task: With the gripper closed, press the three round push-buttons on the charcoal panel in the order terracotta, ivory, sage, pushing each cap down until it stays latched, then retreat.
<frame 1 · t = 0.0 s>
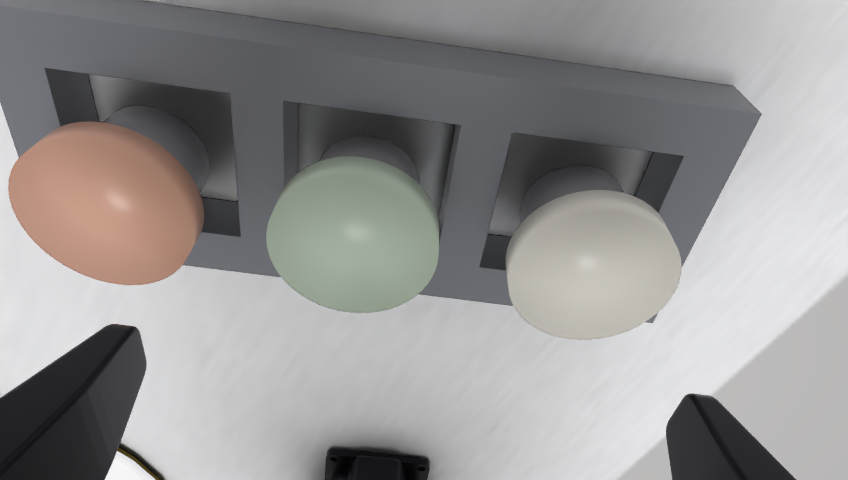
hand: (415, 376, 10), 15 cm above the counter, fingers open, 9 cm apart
sage button: (360, 214, 20), point 4 cm above the counter, slide at 0.0 cm
panel: (373, 157, 24), on the counter
ivory button: (581, 242, 21), point 4 cm above the counter, slide at 0.0 cm
terracotta button: (131, 184, 20), point 4 cm above the counter, slide at 0.0 cm
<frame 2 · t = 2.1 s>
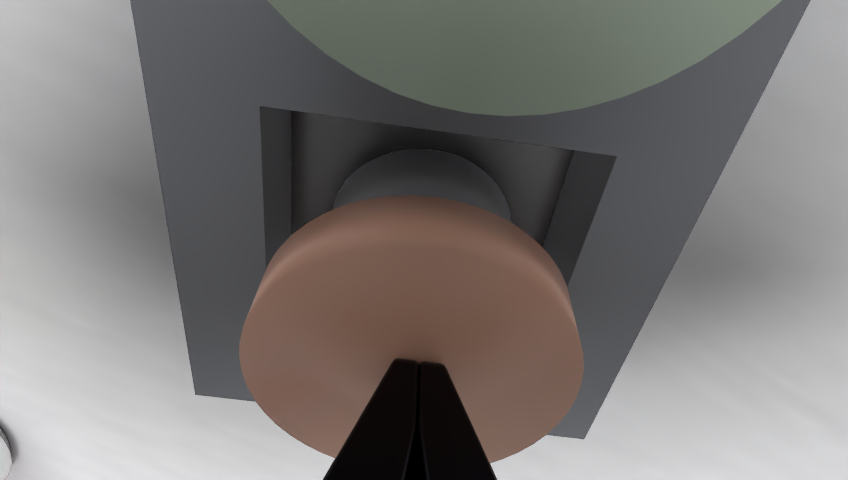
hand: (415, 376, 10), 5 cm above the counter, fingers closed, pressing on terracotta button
terracotta button: (416, 292, 11), point 3 cm above the counter, slide at 1.0 cm, touching gripper
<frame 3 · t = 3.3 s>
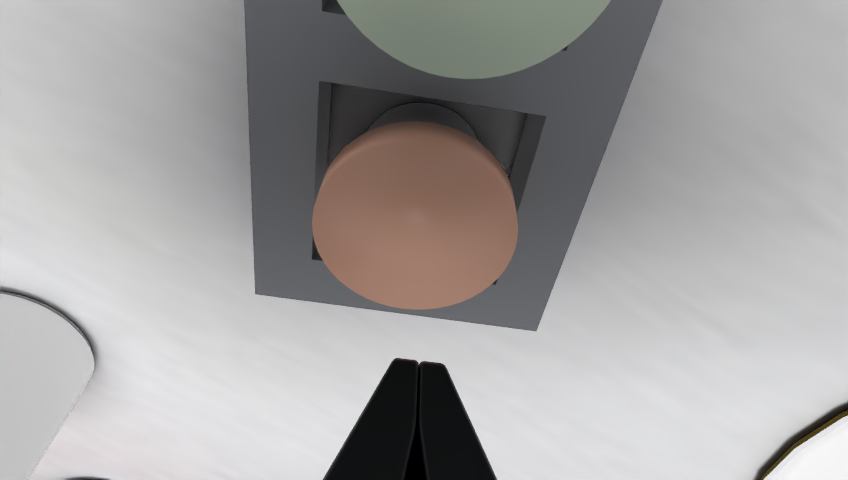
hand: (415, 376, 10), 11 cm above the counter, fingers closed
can: (26, 336, 26), on the counter
terracotta button: (417, 193, 17), point 2 cm above the counter, slide at 1.8 cm
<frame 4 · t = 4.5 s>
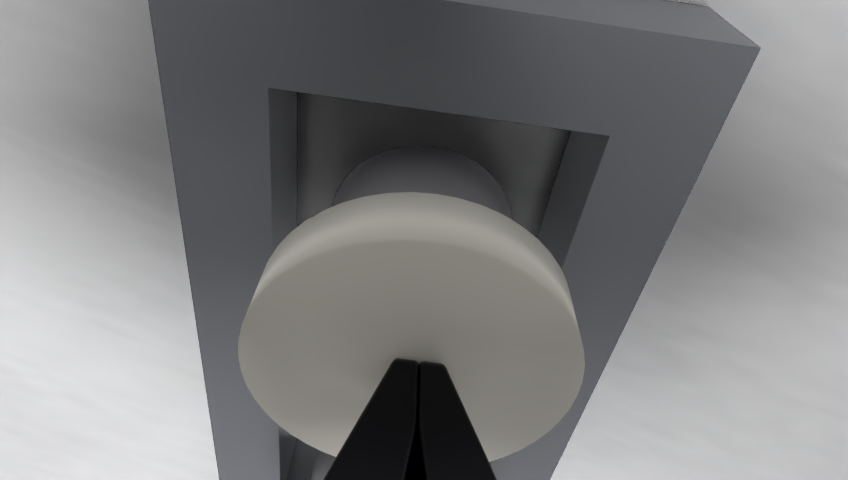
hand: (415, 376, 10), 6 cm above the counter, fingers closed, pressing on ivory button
panel: (391, 392, 19), on the counter
ivory button: (416, 290, 11), point 4 cm above the counter, slide at 0.4 cm, touching gripper
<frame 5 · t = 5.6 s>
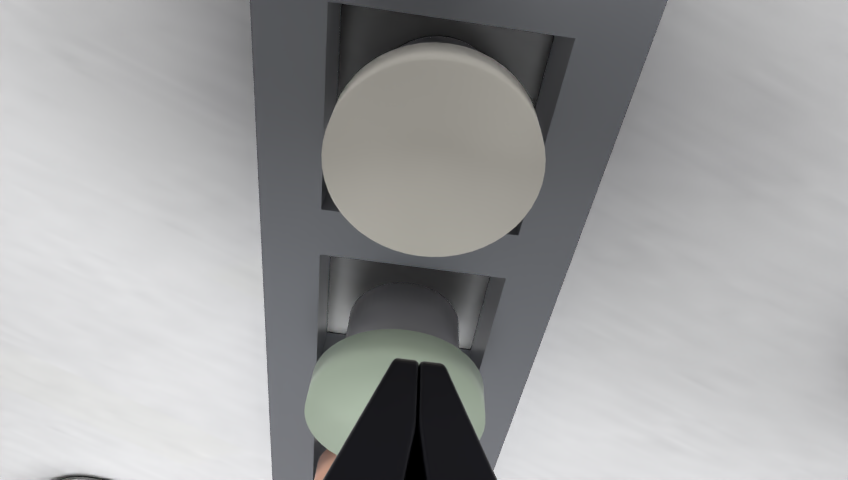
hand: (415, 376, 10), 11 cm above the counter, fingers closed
sage button: (399, 368, 20), point 4 cm above the counter, slide at 0.0 cm
panel: (407, 287, 23), on the counter
ivory button: (434, 132, 16), point 2 cm above the counter, slide at 1.8 cm
terracotta button: (383, 455, 26), point 2 cm above the counter, slide at 1.8 cm
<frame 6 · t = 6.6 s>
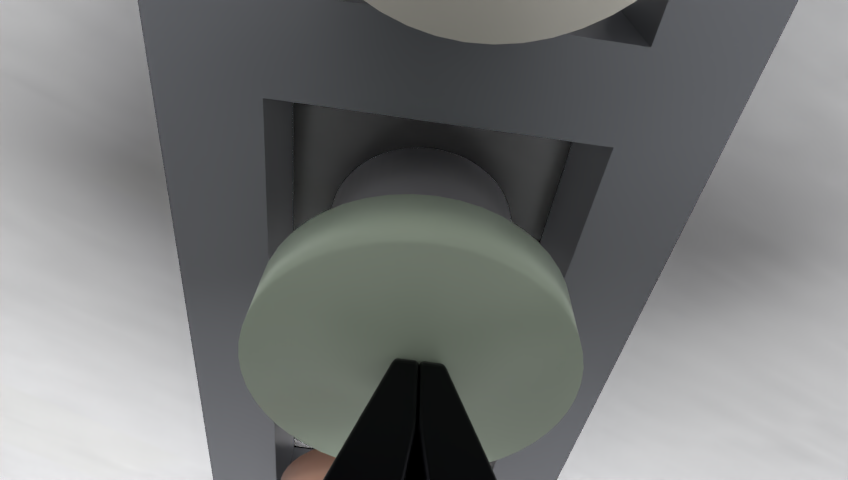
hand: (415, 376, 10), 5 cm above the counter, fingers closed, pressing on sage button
sage button: (415, 291, 11), point 3 cm above the counter, slide at 0.7 cm, touching gripper
panel: (422, 196, 14), on the counter
terracotta button: (383, 469, 17), point 2 cm above the counter, slide at 1.8 cm
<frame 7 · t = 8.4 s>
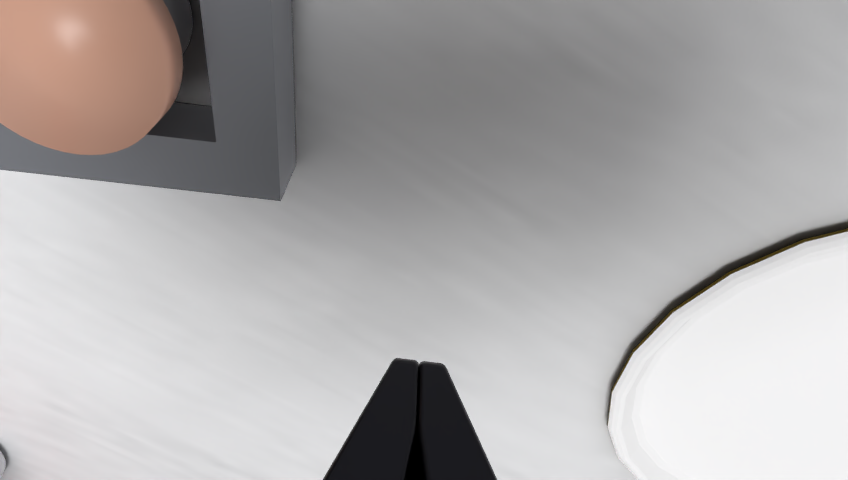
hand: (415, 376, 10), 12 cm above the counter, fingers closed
plate: (824, 380, 28), on the counter
terracotta button: (91, 27, 16), point 2 cm above the counter, slide at 1.8 cm
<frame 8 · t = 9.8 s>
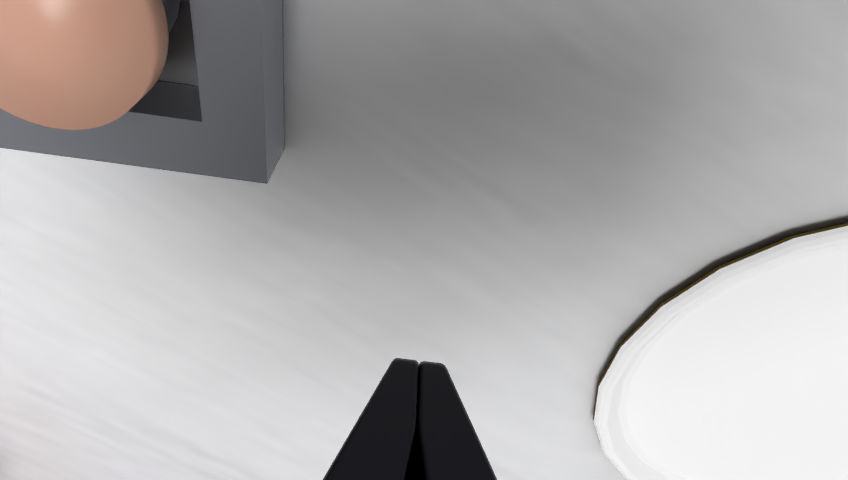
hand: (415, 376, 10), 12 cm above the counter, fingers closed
plate: (810, 379, 28), on the counter
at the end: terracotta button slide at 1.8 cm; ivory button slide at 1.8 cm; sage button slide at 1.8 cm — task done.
